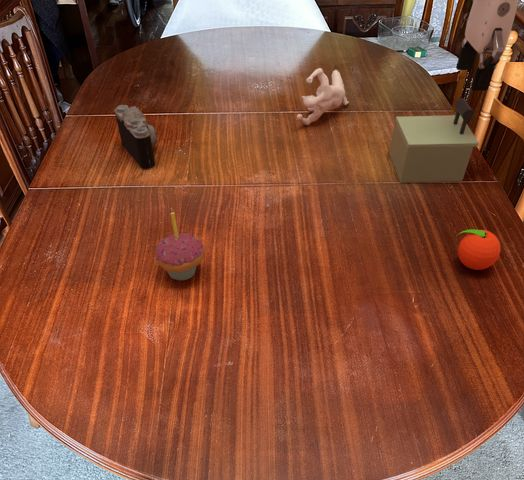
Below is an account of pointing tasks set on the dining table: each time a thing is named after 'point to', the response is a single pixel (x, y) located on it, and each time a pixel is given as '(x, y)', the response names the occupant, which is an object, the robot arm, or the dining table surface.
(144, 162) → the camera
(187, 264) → the cupcake
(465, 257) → the clementine
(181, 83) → the dining table surface
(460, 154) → the green hollow rectangular box
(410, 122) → the lid
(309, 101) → the pale pink plastic figure
